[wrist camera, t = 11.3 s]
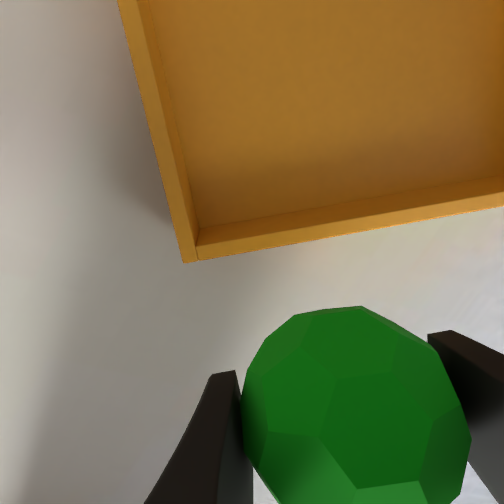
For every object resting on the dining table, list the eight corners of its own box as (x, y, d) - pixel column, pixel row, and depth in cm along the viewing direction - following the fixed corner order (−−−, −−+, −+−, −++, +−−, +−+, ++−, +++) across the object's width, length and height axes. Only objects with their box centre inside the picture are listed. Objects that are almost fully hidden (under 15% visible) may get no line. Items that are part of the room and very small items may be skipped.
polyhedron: (336, 239, 10) (429, 342, 5) (435, 350, 11) (575, 507, 7) (203, 353, 11) (184, 522, 6) (309, 442, 12) (358, 632, 8)
